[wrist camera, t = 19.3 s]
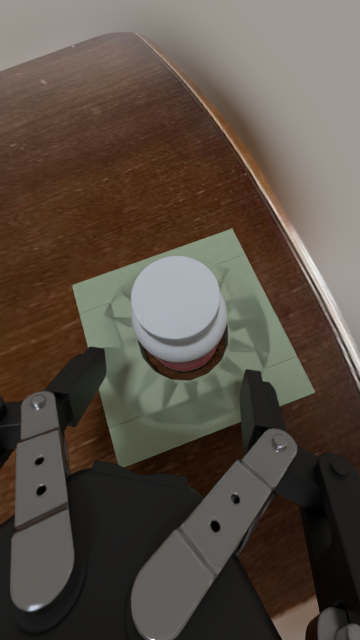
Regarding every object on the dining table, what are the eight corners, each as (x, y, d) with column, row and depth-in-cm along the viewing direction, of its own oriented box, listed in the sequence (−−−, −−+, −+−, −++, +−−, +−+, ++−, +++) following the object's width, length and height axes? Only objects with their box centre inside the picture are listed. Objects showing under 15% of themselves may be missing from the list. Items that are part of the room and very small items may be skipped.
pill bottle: (230, 340, 23) (261, 296, 12) (182, 386, 22) (171, 382, 11) (185, 296, 24) (178, 222, 14) (138, 337, 23) (92, 293, 13)
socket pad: (302, 392, 21) (315, 392, 19) (127, 460, 20) (118, 469, 18) (228, 243, 26) (232, 228, 23) (83, 295, 25) (71, 285, 23)
